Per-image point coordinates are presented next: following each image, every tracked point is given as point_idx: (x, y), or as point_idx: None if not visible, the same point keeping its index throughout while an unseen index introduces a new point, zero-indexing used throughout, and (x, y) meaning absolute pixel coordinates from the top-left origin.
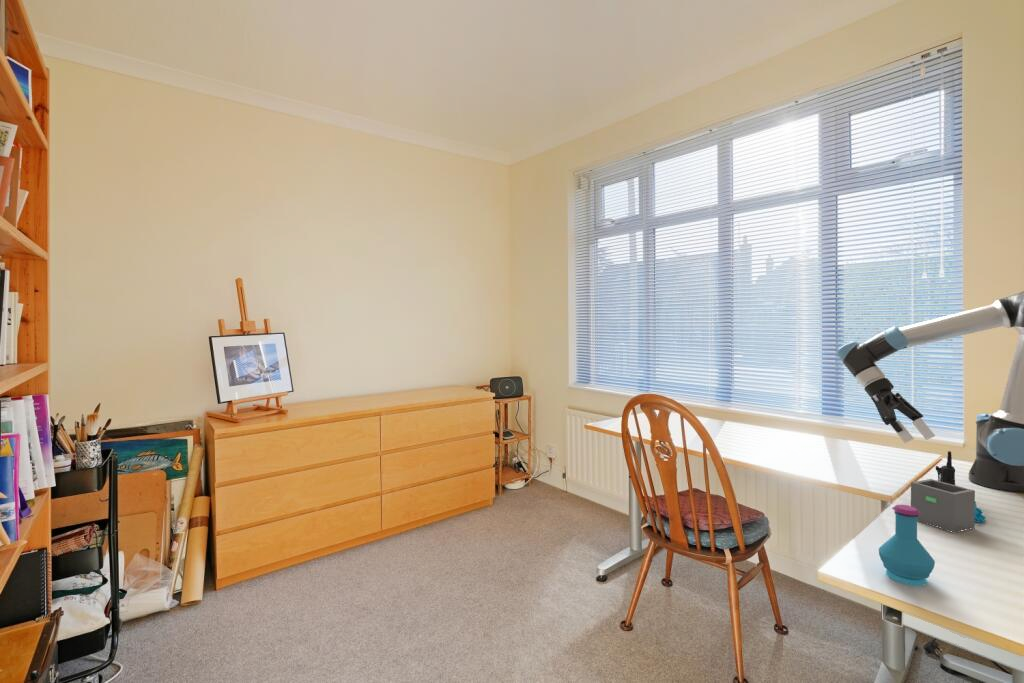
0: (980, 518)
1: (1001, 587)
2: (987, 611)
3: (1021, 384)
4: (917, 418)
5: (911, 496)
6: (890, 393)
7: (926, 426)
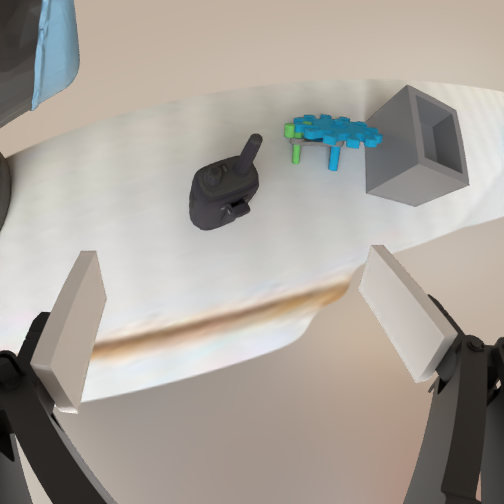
0: (330, 116)
1: (472, 94)
2: (500, 103)
3: None
4: (39, 388)
5: (446, 193)
6: None
7: (75, 300)
